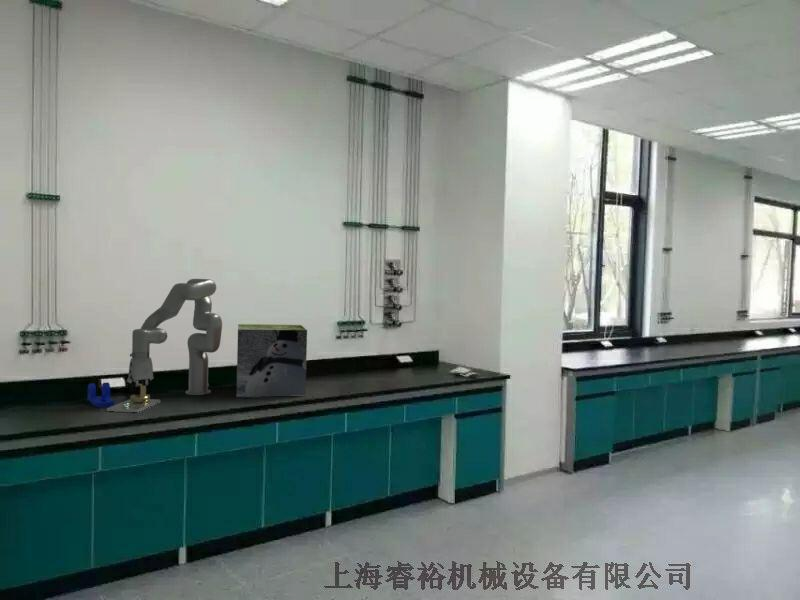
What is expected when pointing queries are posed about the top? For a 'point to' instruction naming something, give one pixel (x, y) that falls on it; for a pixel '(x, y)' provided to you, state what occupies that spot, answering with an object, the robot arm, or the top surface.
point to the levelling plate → (132, 406)
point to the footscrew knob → (140, 395)
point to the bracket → (100, 400)
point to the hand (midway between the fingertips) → (140, 393)
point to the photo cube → (271, 360)
